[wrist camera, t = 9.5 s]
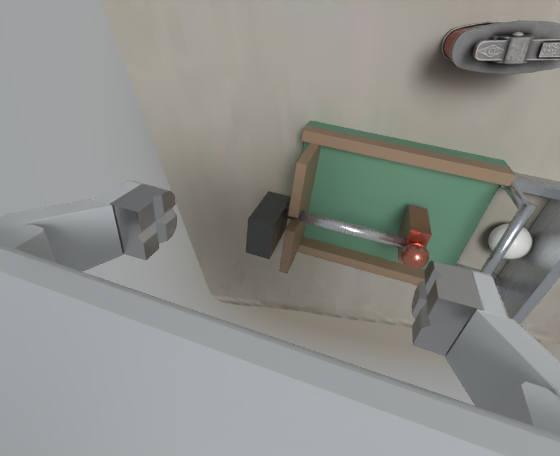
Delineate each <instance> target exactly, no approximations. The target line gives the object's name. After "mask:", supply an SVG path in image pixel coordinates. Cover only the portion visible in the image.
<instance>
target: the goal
mask: <svg viewBox="0 0 560 456" xmlns="http://www.w3.org/2000/svg"><path fill="white" fill-rule="evenodd" d="M514 174H515V175H516V176H515V177H514V179H513V181H512V182H511V184H510V186H505V185H500V187H502V188H505V190H506V191H507V193H508V194H509V196H510V198H511V199H512V201H513V202H514V204H515V205H516V207H517V208H518V212H517V213H516V215H515V216H514V218H513V220H512V221H511V223H510V224H509V226H508V228H507V229H506V231H505V232H504V234H503V236H502V237H501V239H500V240H499V242H498V243H497V245H496V247H495V248H494V250H493V251H492V253H491V255H490V256H489V258H488V259H487V261H486V263H485V264H484V266H483V267H482V269H481V270H479V269H475V268H471V267H467V266H463V265H460V264H455V266H456V267H460V268H464V269H468V270H474V271H478V272H483V273H487V274H490V275H491V276H492V277H493V280H494V283H495V285H496V288H497V291H498V293H499V294H500V295H501V298H502V300H503V303H504V306H505V308H506V311H507V313H508V316H509V318H510V319H513V320H514V321H516V322H517V323H518V324H521V323H522V322H523V321H524V319H525V318H526V317H527V316H528V315H529V313H530V312H531V311H532V310H533V309H534V307H535V306H536V305H537V304H538V303H539V301H540V300H541V299H542V298H543V296H544V295H545V294H546V293H547V292H548V290H549V289H550V288H551V287H552V286H553V284H554V283H555V282H556V281H557V280H558V278H559V277H560V182H557V181H552V180H548V179H543V178H538V177H533V176H529V175H524V174H519V173H514ZM522 192H524V193H529V194H533V195H538V196H542V197H547V198H551V199H550V200H549V202H548V203H547V204H546V206H545V207H544V209H543V210H542V212H541V213H540V215H539V216H538V218H537V219H536V221H535V222H534V224H533V225H532V227H531V228H530V230H529V231H528V232H529V233H530V235H531V237H532V246H531V249H530V250H529V252H528V253H527V254H525V255H524V256H522V257H520V258H516V259H509V261H508V262H507V263H506V265H505V266H504V268H503V269H502V271H501V272H500V274H499V275H497V274H494V273H493V272H494V270H495V269H496V267H497V266H498V264H499V263H500V261H501V260H502V258H503V257H504V255H505V254H506V252H507V251H508V249H509V248H510V246H511V245H512V243H513V242H514V240H515V239H516V237H517V236H518V234H519V233H520V231H521V230H522V228H523V227H524V225H525V224H526V222H527V221H528V219H529V218H530V216H531V214H532V213H533V211H534V210H535V208H536V206H535V205H534V204H532V203H530V202H529V201H528V199H527V198H526V197H525V195H524V194H523V193H522Z"/></svg>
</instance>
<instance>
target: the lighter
mask: <svg viewBox="0 0 560 456" xmlns="http://www.w3.org/2000/svg"><path fill="white" fill-rule="evenodd" d="M441 52H442V55H443V56H444V57H445V58H446V59H448V60H451V61H452V62H453V63H454V64H455V65H456V66H457V67H459V68H461V69H466V70H471V71H477V72H482V73H495V74H518V73H532V72H537V71H543V70H549V69H555V68H559V67H560V24H559V23H553V22H544V21H490V22H481V23H473V24H469V25H465V26H460V27H456V28H453V29H451V30H450V31H449V32H448V33H446V35H445V36H444V38H443V40H442V43H441Z"/></svg>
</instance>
